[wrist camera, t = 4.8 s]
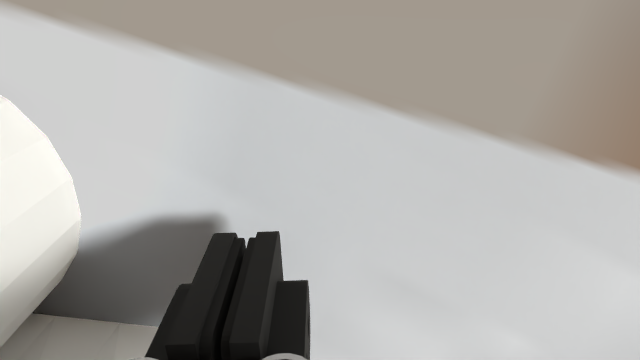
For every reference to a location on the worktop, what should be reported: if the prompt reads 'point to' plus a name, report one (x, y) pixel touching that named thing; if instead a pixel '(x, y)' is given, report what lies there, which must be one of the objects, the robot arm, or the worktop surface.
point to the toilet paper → (45, 255)
